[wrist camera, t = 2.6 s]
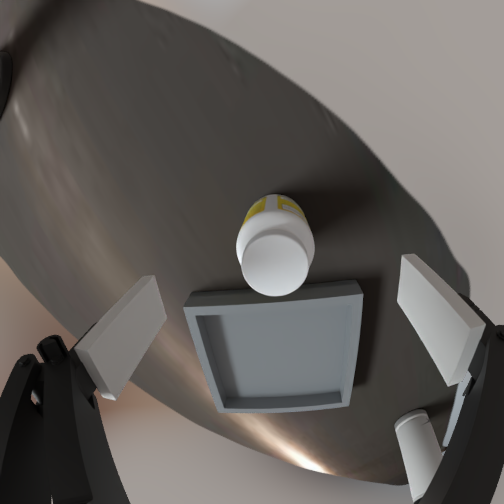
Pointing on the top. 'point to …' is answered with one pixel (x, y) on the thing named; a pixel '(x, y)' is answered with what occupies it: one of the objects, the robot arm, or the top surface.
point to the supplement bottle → (275, 246)
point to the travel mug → (418, 450)
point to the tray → (278, 346)
